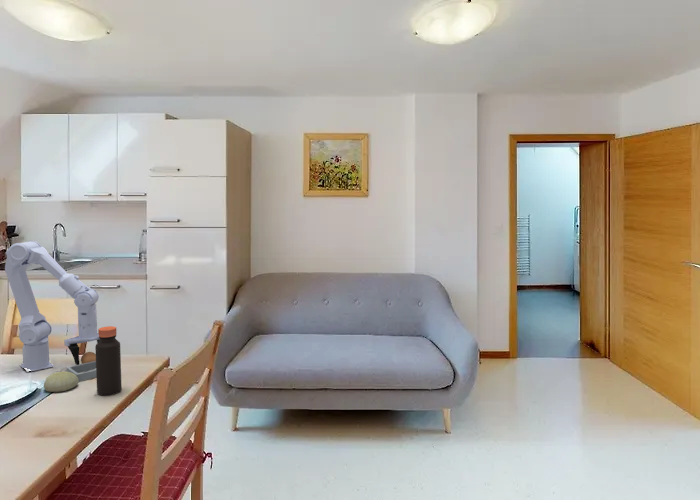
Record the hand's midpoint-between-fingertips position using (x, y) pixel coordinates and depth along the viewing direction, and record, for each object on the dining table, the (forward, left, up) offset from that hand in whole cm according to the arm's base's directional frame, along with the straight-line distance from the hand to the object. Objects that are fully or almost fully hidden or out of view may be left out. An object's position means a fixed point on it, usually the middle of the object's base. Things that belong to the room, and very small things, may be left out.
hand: (89, 361), depth 166 cm
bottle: (+28, -4, -2) cm, 29 cm away
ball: (0, 0, -2) cm, 2 cm away
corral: (+8, -3, -2) cm, 9 cm away
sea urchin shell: (+15, -13, -2) cm, 20 cm away
